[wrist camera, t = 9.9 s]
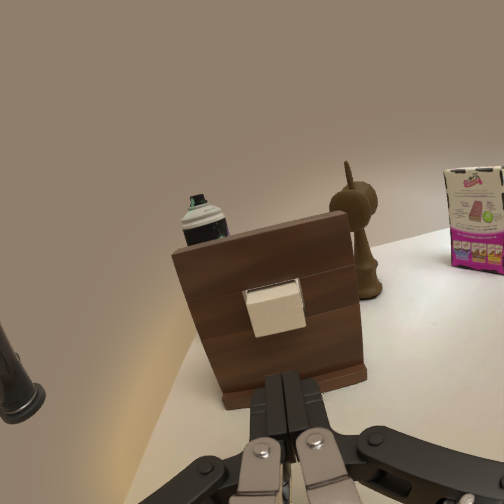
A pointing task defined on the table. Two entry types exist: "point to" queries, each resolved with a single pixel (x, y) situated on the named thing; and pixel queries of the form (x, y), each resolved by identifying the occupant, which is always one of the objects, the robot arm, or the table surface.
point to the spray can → (203, 222)
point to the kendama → (359, 230)
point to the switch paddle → (275, 308)
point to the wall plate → (266, 273)
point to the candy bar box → (476, 217)
